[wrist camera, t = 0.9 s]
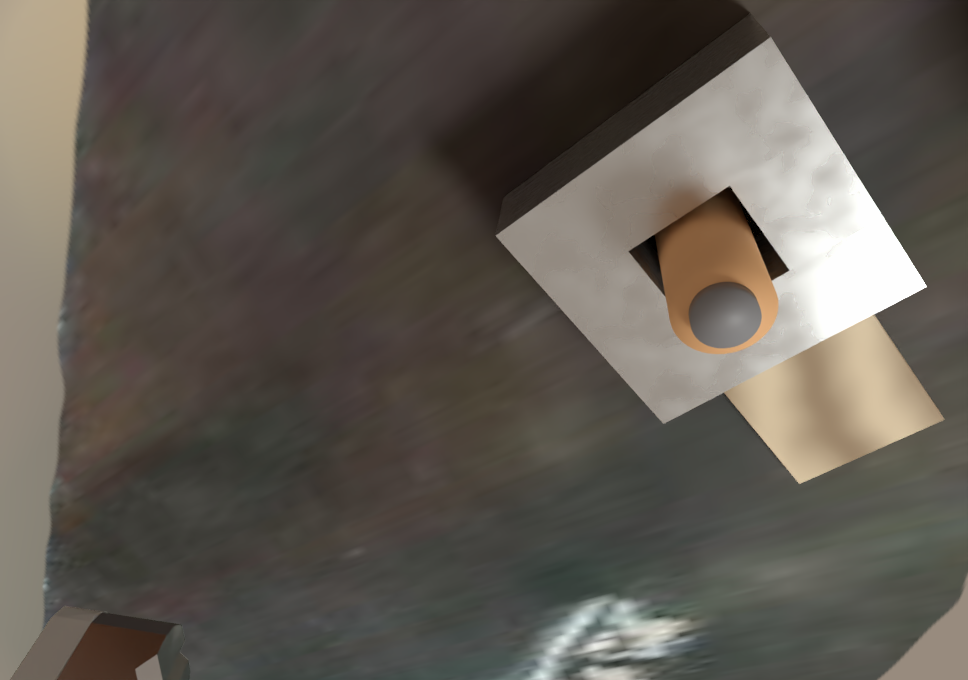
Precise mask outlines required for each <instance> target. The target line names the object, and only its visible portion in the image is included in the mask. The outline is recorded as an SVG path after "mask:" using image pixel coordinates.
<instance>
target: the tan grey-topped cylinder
mask: <svg viewBox="0 0 968 680" xmlns="http://www.w3.org/2000/svg"><path fill="white" fill-rule="evenodd" d="M655 240H656V246H657V251H658V257H659V262H660V268H661V274H662V279H663V285H664V291H665V296H666V302H667V308H668V313H669V319H670V323H671V327H672V329H673V331H674V333H675V334H676V336H677V337H678V338H679V339H680V340H681V341H682V342H683V343H684V344H686V345H687V346H689V347H690V348H692V349H695V350H697V351H700V352H703V353H709V354H727V353H733V352H737V351H740V350H743V349H745V348H747V347H749V346H751V345H753V344H755V343H756V342H758V341H759V340H760V339H761V338H762V337H763V336H765V335H766V334H767V332H768V331H769V330H770V329H771V327H772V325H773V324H774V322H775V319H776V317H777V313H778V297H777V293H776V291H775V288H774V286H773V283H772V281H771V278H770V276H769V273H768V271H767V269H766V266H765V264H764V261H763V259H762V256H761V254H760V251H759V249H758V247H757V244H756V242H755V239H754V237H753V234H752V232H751V229H750V227H749V225H748V222H747V220H746V217H745V215H744V212H743V210H742V207H741V205H740V203H739V200H738V198H737V197H736V195H735V194H734V192H733V191H732V190H731V189H729V188H728V187H727V188H725V189H724V190H722V191H721V192H719V193H718V194H716V195H715V196H713V197H711V198H710V199H708V200H707V201H705V202H704V203H702V204H701V205H699V206H698V207H696V208H694V209H693V210H691V211H690V212H688V213H687V214H685V215H684V216H682V217H681V218H679V219H677V220H676V221H674V222H673V223H671V224H670V225H668V226H667V227H665V228H664V229H662V230H660V231H659V232H657V233H656V234H655Z"/></svg>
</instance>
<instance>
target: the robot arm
mask: <svg viewBox="0 0 968 680" xmlns="http://www.w3.org/2000/svg"><path fill="white" fill-rule="evenodd" d="M184 641H185V637H184V633H183V628H182V625H181V624H174V623H168V622H162V621H155V620H149V619H142V618H136V617H129V616H123V615H116V614H110V613H107V612H103V611H96V610H89V609H82V608H75V607H68V606H64V607H63V608H62V609H60V610H59V611H58V612H57V613H56V614H55V615H54V616H53V617H52V618H51V619H50V620H49V622H48V623H47V625H46V626H45V628H44V629H43V631H42V632H41V634H40V635H39V637H38V638H37V640H36V641H35V643H34V644H33V646H32V647H31V649H30V651H29V652H28V653H27V655H26V657H25V658H24V659H23V661H22V662H21V664H20V666H19V667H18V668H17V670H16V671H15V673H14V675H13V676H12V678H11V679H10V680H190V666H189V660H188V659H187V658H186V657H185V656H183V655H182V654H181V653H180V650H181V648H182V646H183V643H184Z"/></svg>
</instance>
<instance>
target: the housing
mask: <svg viewBox="0 0 968 680" xmlns="http://www.w3.org/2000/svg"><path fill="white" fill-rule="evenodd" d="M728 186H730V187H731V189H732V190H733V191H734V193H735V194H736V196H737V197H738V198H739V200H740V201H741V203H742V204H743V205H744V207H745V208H746V210H747V211H748V212H749V214H750V215H751V217H752V218H753V219H754V221H755V222H756V224H757V225H758V226H759V228H760V229H761V231H762V232H763V233H762V234H761V235H759V236H757V237H756V238H754V239H755V242H756V244H757V247H758V249H759V251H760V254H761V256H762V259H763V261H764V264H765V266H766V269H767V271H768V273H769V276H770V278H771V281H772V283H773V286H774V288H775V291H776V293H777V297H778V313H777V317H776V319H775V322H774V324H773V325H772V327H771V329H770V330H769V331H768V332H767V334H766V335H765V336H763V337H762V338H761V339H760V340H759V341H758V342H756V343H755V344H753V345H751V346H749V347H747V348H745V349H743V350H740V351H737V352H733V353H727V354H709V353H703V352H700V351H697V350H695V349H692V348H690V347H689V346H687V345H686V344H684V343H683V342H682V341H681V340H680V339H679V338H678V337H677V336H676V334H675V333H674V331H673V329H672V327H671V323H670V319H669V313H668V308H667V302H666V296H665V291H664V285H663V279H662V274H661V268H660V262H659V257H658V254H657V252H656V251H655V250H654V249H653V247H652V246H651V245H650V244H649V242H648V241H647V239H648V238H650V237H651V236H653V235H654V234H656V233H657V232H659V231H660V230H662V229H664V228H665V227H667V226H668V225H670V224H671V223H673V222H674V221H676V220H677V219H679V218H681V217H682V216H684V215H685V214H687V213H688V212H690V211H691V210H693V209H694V208H696V207H698V206H699V205H701V204H702V203H704V202H705V201H707V200H708V199H710V198H711V197H713V196H715V195H716V194H718V193H719V192H721V191H722V190H724V189H725V188H727V187H728ZM496 237H497V238H498V239H499V240H500V241H501V242H502V244H503V245H504V246H505V247H506V248H507V249H508V250H509V251H510V252H511V254H512V255H513V256H514V257H515V258H516V259H517V260H518V261H519V263H520V264H521V265H522V266H523V267H524V268H525V269H526V270H527V272H528V273H529V274H530V275H531V276H532V277H533V278H534V279H535V280H536V282H537V283H538V284H539V285H540V286H541V287H542V288H543V289H544V291H545V292H546V293H547V294H548V295H549V296H550V297H551V298H552V299H553V301H554V302H555V303H556V304H557V305H558V306H559V307H560V308H561V310H562V311H563V312H564V313H565V314H566V315H567V316H568V317H569V318H570V320H571V321H572V322H573V323H574V324H575V325H576V326H577V327H578V329H579V330H580V331H581V332H582V333H583V334H584V335H585V336H586V337H587V339H588V340H589V341H590V342H591V343H592V344H593V345H594V346H595V348H596V349H597V350H598V351H599V352H600V353H601V354H602V355H603V357H604V358H605V359H606V360H607V361H608V362H609V363H610V364H611V365H612V367H613V368H614V369H615V370H616V371H617V372H618V373H619V374H620V376H621V377H622V378H623V379H624V380H625V381H626V382H627V383H628V384H629V386H630V387H631V388H632V389H633V390H634V391H635V392H636V393H637V395H638V396H639V397H640V398H641V399H642V400H643V401H644V402H645V403H646V405H647V406H648V407H649V408H650V409H651V410H652V411H653V412H654V414H655V415H656V416H657V417H658V418H659V419H660V420H661V421H662V423H663V424H664V423H666V422H668V421H670V420H672V419H674V418H676V417H677V416H679V415H681V414H683V413H685V412H687V411H689V410H691V409H693V408H695V407H697V406H699V405H701V404H702V403H704V402H706V401H708V400H710V399H712V398H714V397H716V396H718V395H720V394H722V393H724V392H725V391H727V390H729V389H731V388H733V387H735V386H737V385H739V384H741V383H743V382H745V381H747V380H748V379H750V378H752V377H754V376H756V375H758V374H760V373H762V372H764V371H766V370H768V369H770V368H772V367H773V366H775V365H777V364H779V363H781V362H783V361H785V360H787V359H789V358H791V357H793V356H795V355H796V354H798V353H800V352H802V351H804V350H806V349H808V348H810V347H812V346H814V345H816V344H818V343H819V342H821V341H823V340H825V339H827V338H829V337H831V336H833V335H835V334H837V333H839V332H841V331H843V330H844V329H846V328H848V327H850V326H852V325H854V324H856V323H858V322H860V321H862V320H864V319H866V318H867V317H869V316H871V315H873V314H875V313H877V312H879V311H881V310H883V309H885V308H887V307H889V306H890V305H892V304H894V303H896V302H898V301H900V300H902V299H904V298H906V297H908V296H910V295H912V294H913V293H915V292H917V291H919V290H921V289H923V288H925V287H927V286H926V285H925V283H924V282H923V280H922V278H921V277H920V275H919V274H918V272H917V270H916V269H915V267H914V266H913V264H912V262H911V261H910V259H909V258H908V256H907V254H906V253H905V251H904V250H903V248H902V246H901V245H900V243H899V242H898V240H897V238H896V237H895V235H894V234H893V232H892V230H891V229H890V227H889V226H888V224H887V222H886V221H885V219H884V218H883V216H882V214H881V213H880V211H879V210H878V208H877V206H876V205H875V203H874V202H873V200H872V198H871V197H870V195H869V194H868V192H867V190H866V189H865V187H864V186H863V184H862V182H861V181H860V179H859V178H858V176H857V174H856V173H855V171H854V170H853V168H852V166H851V165H850V163H849V162H848V160H847V158H846V157H845V155H844V154H843V152H842V150H841V149H840V147H839V146H838V144H837V142H836V141H835V139H834V138H833V136H832V134H831V133H830V131H829V130H828V128H827V126H826V125H825V123H824V122H823V120H822V118H821V117H820V115H819V114H818V112H817V110H816V109H815V107H814V106H813V104H812V102H811V101H810V99H809V98H808V96H807V94H806V93H805V91H804V90H803V88H802V86H801V85H800V83H799V82H798V80H797V78H796V77H795V75H794V74H793V72H792V70H791V69H790V67H789V66H788V64H787V62H786V61H785V59H784V58H783V56H782V54H781V53H780V51H779V50H778V48H777V46H776V45H775V43H774V42H773V40H772V38H771V37H770V36H769V35H768V33H767V32H766V31H765V30H764V29H763V27H762V26H761V25H760V24H759V23H758V22H757V20H756V19H755V18H754V17H753V16H752V14H751V13H750V14H749V15H747V16H746V17H745V18H743V19H742V20H741V21H739V22H738V23H736V24H735V25H734V26H732V27H731V28H730V29H728V30H727V31H726V32H724V33H723V34H722V35H720V36H719V37H718V38H716V39H715V40H714V41H712V42H711V43H710V44H708V45H707V46H706V47H704V48H703V49H702V50H700V51H699V52H698V53H696V54H695V55H694V56H692V57H691V58H690V59H688V60H687V61H686V62H684V63H683V64H681V65H680V66H679V67H677V68H676V69H675V70H673V71H672V72H671V73H669V74H668V75H667V76H665V77H664V78H663V79H661V80H660V81H659V82H657V83H656V84H655V85H653V86H652V87H651V88H649V89H648V90H647V91H645V92H644V93H643V94H641V95H640V96H639V97H637V98H636V99H635V100H633V101H632V102H631V103H629V104H628V105H626V106H625V107H624V108H622V109H621V110H620V111H618V112H617V113H616V114H614V115H613V116H612V117H610V118H609V119H608V120H606V121H605V122H604V123H602V124H601V125H600V126H598V127H597V128H596V129H594V130H593V131H592V132H590V133H589V134H588V135H586V136H585V137H584V138H582V139H581V140H580V141H578V142H577V143H576V144H574V145H573V146H571V147H570V148H569V149H567V150H566V151H565V152H563V153H562V154H561V155H559V156H558V157H557V158H555V159H554V160H553V161H551V162H550V163H549V164H547V165H546V166H545V167H543V168H542V169H541V170H539V171H538V172H537V173H535V174H534V175H533V176H531V177H530V178H529V179H527V180H526V181H525V182H523V183H522V184H521V185H519V186H518V187H516V188H515V189H514V190H512V191H511V192H510V193H508V194H507V195H506V196H504V197H503V201H502V206H501V211H500V216H499V221H498V226H497V231H496Z"/></svg>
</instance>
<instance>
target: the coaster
mask: <svg viewBox="0 0 968 680" xmlns="http://www.w3.org/2000/svg"><path fill="white" fill-rule="evenodd" d="M724 393H725V394H726V396H727V397H728V398H729V399H730V401H731V402H732V403H733V404H734V405H735V407H736V408H737V409H738V410H739V411H740V413H741V414H742V415H743V416H744V417H745V419H746V420H747V421H748V422H749V423H750V425H751V426H752V427H753V428H754V430H755V431H756V432H757V433H758V434H759V436H760V437H761V438H762V439H763V440H764V442H765V443H766V444H767V445H768V446H769V448H770V449H771V450H772V451H773V452H774V454H775V455H776V456H777V457H778V459H779V460H780V461H781V462H782V463H783V465H784V466H785V467H786V468H787V469H788V471H789V472H790V473H791V474H792V475H793V477H794V478H795V479H796V480H797V481H798V483H799V484H800V483H803V482H805V481H807V480H809V479H812V478H814V477H816V476H818V475H821V474H823V473H825V472H827V471H830V470H832V469H834V468H836V467H839V466H841V465H843V464H846V463H848V462H850V461H852V460H855V459H857V458H859V457H861V456H864V455H866V454H868V453H870V452H873V451H875V450H877V449H879V448H882V447H884V446H886V445H888V444H891V443H893V442H895V441H897V440H900V439H902V438H904V437H906V436H909V435H911V434H913V433H915V432H918V431H920V430H922V429H924V428H927V427H929V426H931V425H934V424H936V423H938V422H940V421H943V420H944V418H943V416H942V415H941V413H940V411H939V410H938V408H937V407H936V405H935V404H934V402H933V401H932V399H931V398H930V396H929V395H928V393H927V392H926V390H925V389H924V387H923V386H922V384H921V383H920V381H919V380H918V379H917V377H916V376H915V374H914V373H913V371H912V370H911V368H910V367H909V365H908V364H907V362H906V361H905V359H904V358H903V356H902V355H901V353H900V352H899V350H898V349H897V347H896V346H895V344H894V343H893V341H892V340H891V338H890V337H889V336H888V334H887V333H886V331H885V330H884V328H883V327H882V325H881V324H880V322H879V321H878V319H877V318H876V316H875V315H874V314H873V315H871V316H869V317H867V318H866V319H864V320H862V321H860V322H858V323H856V324H854V325H852V326H850V327H848V328H846V329H844V330H843V331H841V332H839V333H837V334H835V335H833V336H831V337H829V338H827V339H825V340H823V341H821V342H819V343H818V344H816V345H814V346H812V347H810V348H808V349H806V350H804V351H802V352H800V353H798V354H796V355H795V356H793V357H791V358H789V359H787V360H785V361H783V362H781V363H779V364H777V365H775V366H773V367H772V368H770V369H768V370H766V371H764V372H762V373H760V374H758V375H756V376H754V377H752V378H750V379H748V380H747V381H745V382H743V383H741V384H739V385H737V386H735V387H733V388H731V389H729V390H727V391H725V392H724Z"/></svg>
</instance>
